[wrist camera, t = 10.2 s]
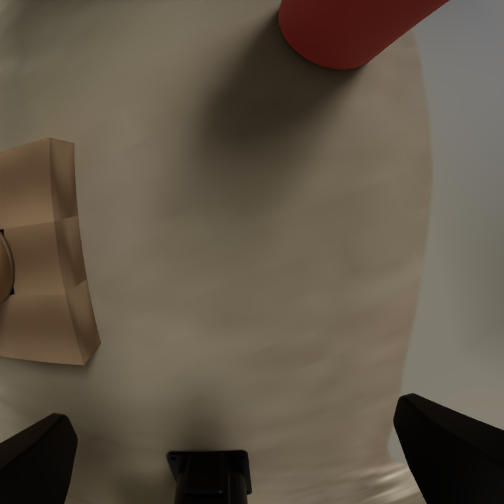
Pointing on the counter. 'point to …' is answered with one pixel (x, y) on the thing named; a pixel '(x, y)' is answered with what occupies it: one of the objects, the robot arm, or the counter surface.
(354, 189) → the counter surface
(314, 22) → the beer can
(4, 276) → the peg
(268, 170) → the counter surface
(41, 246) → the board
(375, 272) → the counter surface
